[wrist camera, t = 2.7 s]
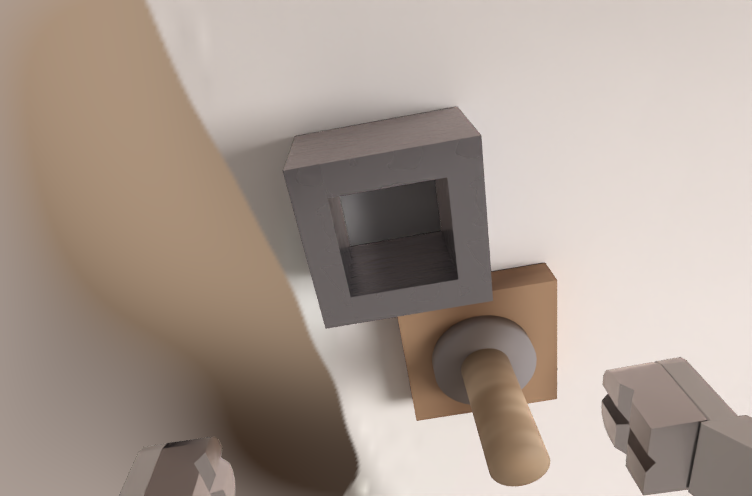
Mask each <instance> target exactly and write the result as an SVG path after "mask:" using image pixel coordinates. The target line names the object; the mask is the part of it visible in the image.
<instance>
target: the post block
mask: <svg viewBox="0 0 752 496" xmlns="http://www.w3.org/2000/svg"><path fill="white" fill-rule="evenodd" d="M491 279H492V293H493V301H489V302H483V303H477V304H471V305H465V306H459V307H453V308H447V309H441V310H435V311H429V312H423V313H417V314H411V315H405V316H399V317H398V322H399V328H400V333H401V339H402V344H403V349H404V355H405V360H406V366H407V371H408V377H409V382H410V387H411V393H412V398H413V404H414V409H415V415H416V420H417V421H419V420H425V419H431V418H438V417H444V416H451V415H457V414H463V413H470V412H473V416H474V419H475V423H476V426H477V430H478V434H479V437H480V441H481V444H482V448H483V451H484V455H485V459H486V462H487V466H488V469H489V473H490V475H491V477H492V478H493V479H494V480H495V481H496V482H498V483H500V484H502V485H506V486H522V485H526V484H530V483H532V482H534V481H536V480H538V479H539V478H541V477H542V476H543V475H544V474H545V473H546V472H547V470H548V468H549V466H550V458H549V455H548V452H547V450H546V448H545V445H544V443H543V440H542V438H541V435H540V433H539V431H538V428H537V426H536V423H535V421H534V419H533V416H532V414H531V411H530V409H529V407H528V404H527V403H534V402H540V401H546V400H553V399H557V279H556V278H555V276H554V275H553V273H552V272H551V271H550V269H549V268H548V266H547V265H546V263H541V264H535V265H529V266H523V267H517V268H511V269H505V270H499V271H493V272H491Z"/></svg>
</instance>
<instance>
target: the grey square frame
mask: <svg viewBox="0 0 752 496" xmlns="http://www.w3.org/2000/svg"><path fill="white" fill-rule="evenodd" d="M283 173H284V177H285V180H286V184H287V188H288V192H289V195H290V199H291V203H292V206H293V210H294V214H295V217H296V221H297V225H298V228H299V232H300V236H301V239H302V243H303V247H304V251H305V254H306V258H307V262H308V265H309V269H310V273H311V276H312V280H313V284H314V287H315V291H316V295H317V298H318V302H319V306H320V310H321V313H322V317H323V321H324V324H325V328H332V327H338V326H344V325H350V324H356V323H362V322H368V321H374V320H380V319H386V318H393V317H399V316H405V315H411V314H417V313H423V312H429V311H435V310H441V309H447V308H453V307H459V306H465V305H471V304H477V303H483V302H489V301H493V293H492V279H491V265H490V251H489V237H488V223H487V209H486V195H485V182H484V168H483V154H482V140H481V134H480V133H479V132H478V131H477V130H476V128H475V127H474V126H473V125H472V124H471V122H470V121H469V120H468V119H467V117H466V116H465V115H464V114H463V113H462V111H461V110H460V109H459V108H458V107H453V108H447V109H442V110H436V111H431V112H425V113H420V114H414V115H409V116H403V117H398V118H392V119H387V120H381V121H376V122H370V123H365V124H359V125H354V126H348V127H343V128H337V129H332V130H326V131H321V132H315V133H309V134H304V135H298V136H295V137H294V140H293V143H292V146H291V149H290V152H289V155H288V157H287V160H286V163H285V166H284V169H283ZM429 180H435V184H436V193H437V201H438V209H439V217H440V226H441V231H438V232H432V233H427V234H421V235H415V236H409V237H403V238H397V239H392V240H386V241H380V242H374V243H368V244H362V245H357V246H350V241H349V237H348V232H347V228H346V223H345V219H344V214H343V210H342V205H341V200H340V196H344V195H350V194H355V193H361V192H367V191H372V190H378V189H384V188H389V187H395V186H401V185H406V184H412V183H418V182H424V181H429Z"/></svg>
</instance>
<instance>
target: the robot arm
mask: <svg viewBox="0 0 752 496" xmlns="http://www.w3.org/2000/svg"><path fill="white" fill-rule="evenodd" d="M603 386H604V388H605V389H606V391H607V393H608V394H607V395H606V396H605V398H604V399H603V400H602V417H603V422H604V426H605V429H606V431H607V434H608V436H609V438H610V440H611V441H612V443H613V445H614V447H615V448H617V449H619V450H620V451H622V452H624V453H625V454H627V456H626V467H627V469H628V471H629V472H630V474H631V476H632V477H633V479H634V481H635V482H636V484H637V486H638V487H639V489H640V491H641V493H642V494H643V495H650V494H658V493H665V492H673V491H680V490H688V489H689V490H688V492H689V493H690V494H692V495H693V496H752V418H751V417H749V416H747V415H742V416H738V415H737V414H736V413H735V412H734V411H733V410H732V409H731V408H730V407H729V406H728V405H727V404H726V402H725V401H724V400H723V399H722V398H721V397H720V396H719V395H718V394H717V393H716V392H715V391H714V390H713V388H712V387H711V386H710V385H709V384H708V383H707V382H706V381H705V380H704V379H703V378H702V377H701V375H700V374H699V373H698V372H697V371H696V370H695V369H694V368H693V367H692V366H691V365H690V364H689V363H688V361H687V360H685V359H683V358H681V357H678V358H672V359H666V360H661V361H655V362H649V363H644V364H638V365H633V366H627V367H621V368H616V369H610V370H606V371H605V373H604V375H603ZM222 449H223V448H222V446H221V444H220V442H219V440H218V438H217V437H207V438H200V439H193V440H186V441H179V442H172V443H167V444H161V445H154V446H147V447H143V448H142V450H140V451H139V453H138V454H137V456H136V458H135V461H134V463H133V465H132V467H131V470H130V472H129V474H128V476H127V479H126V481H125V483H124V486H123V488H122V490H121V492H120V494H119V496H235V479H234V474H233V470H232V468H231V466H230V463H229V462H227V461H225V460H224V459H222V458H220V457H221V453H222Z"/></svg>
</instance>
